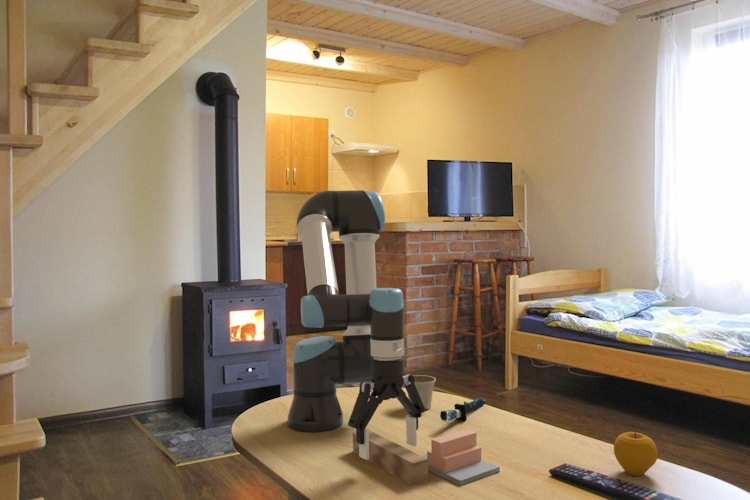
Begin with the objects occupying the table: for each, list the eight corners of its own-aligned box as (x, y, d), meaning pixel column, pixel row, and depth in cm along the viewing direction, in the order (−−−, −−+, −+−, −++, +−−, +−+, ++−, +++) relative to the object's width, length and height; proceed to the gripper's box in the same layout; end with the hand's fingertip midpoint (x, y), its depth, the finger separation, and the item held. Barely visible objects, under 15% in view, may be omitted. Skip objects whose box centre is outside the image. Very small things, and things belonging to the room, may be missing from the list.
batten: (353, 452, 151) (352, 432, 151) (367, 449, 153) (366, 429, 153) (413, 487, 131) (413, 463, 131) (428, 482, 133) (428, 459, 133)
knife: (444, 428, 163) (445, 411, 164) (433, 426, 165) (434, 409, 165) (493, 411, 188) (494, 396, 188) (484, 410, 190) (485, 395, 190)
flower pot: (402, 403, 191) (401, 375, 190) (432, 402, 192) (432, 374, 191) (407, 413, 181) (406, 383, 181) (439, 411, 182) (438, 382, 182)
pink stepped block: (410, 462, 144) (410, 432, 143) (448, 450, 151) (448, 421, 151) (460, 485, 131) (460, 452, 131) (499, 471, 138) (499, 439, 138)
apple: (667, 478, 133) (668, 437, 133) (632, 484, 131) (632, 441, 130) (638, 463, 142) (638, 424, 142) (604, 468, 139) (604, 428, 139)
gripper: (351, 367, 131) (352, 468, 131) (439, 352, 146) (440, 443, 146) (331, 362, 137) (332, 459, 137) (418, 348, 152) (419, 435, 152)
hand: (388, 451), depth 142 cm, fingers open, 13 cm apart
